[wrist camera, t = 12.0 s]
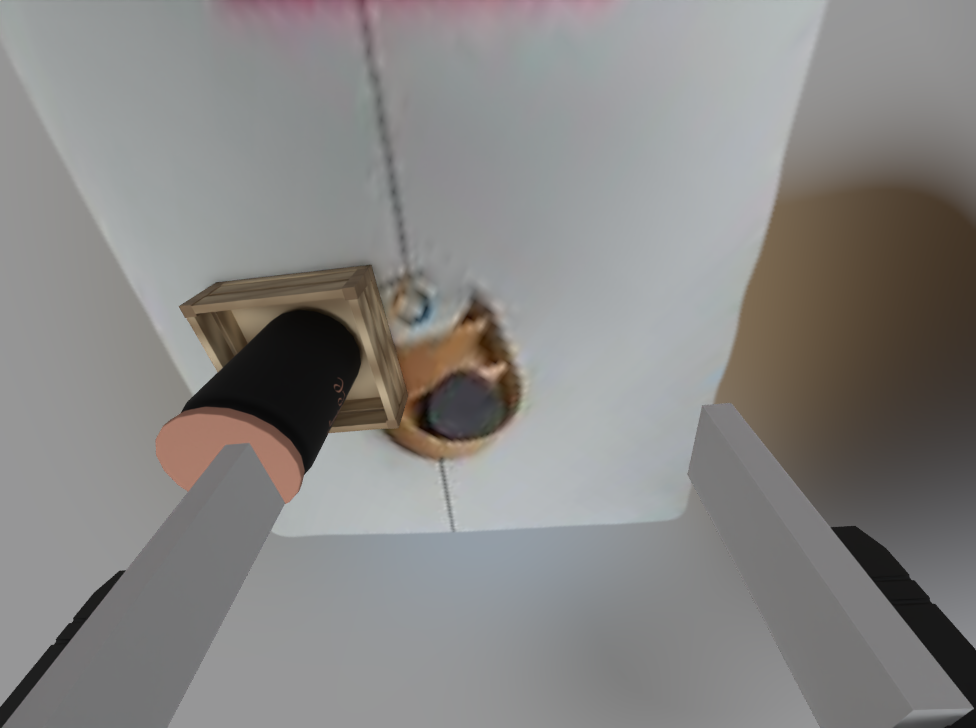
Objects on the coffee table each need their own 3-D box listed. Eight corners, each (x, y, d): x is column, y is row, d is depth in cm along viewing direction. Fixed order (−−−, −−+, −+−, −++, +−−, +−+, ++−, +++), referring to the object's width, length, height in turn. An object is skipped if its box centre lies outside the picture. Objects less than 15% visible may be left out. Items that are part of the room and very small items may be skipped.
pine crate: (215, 282, 43) (178, 306, 38) (371, 264, 42) (354, 286, 37) (279, 407, 52) (255, 439, 47) (408, 395, 51) (398, 427, 46)
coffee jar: (326, 400, 50) (253, 528, 35) (249, 343, 46) (128, 461, 31) (383, 352, 46) (329, 473, 31) (305, 285, 42) (199, 388, 27)
